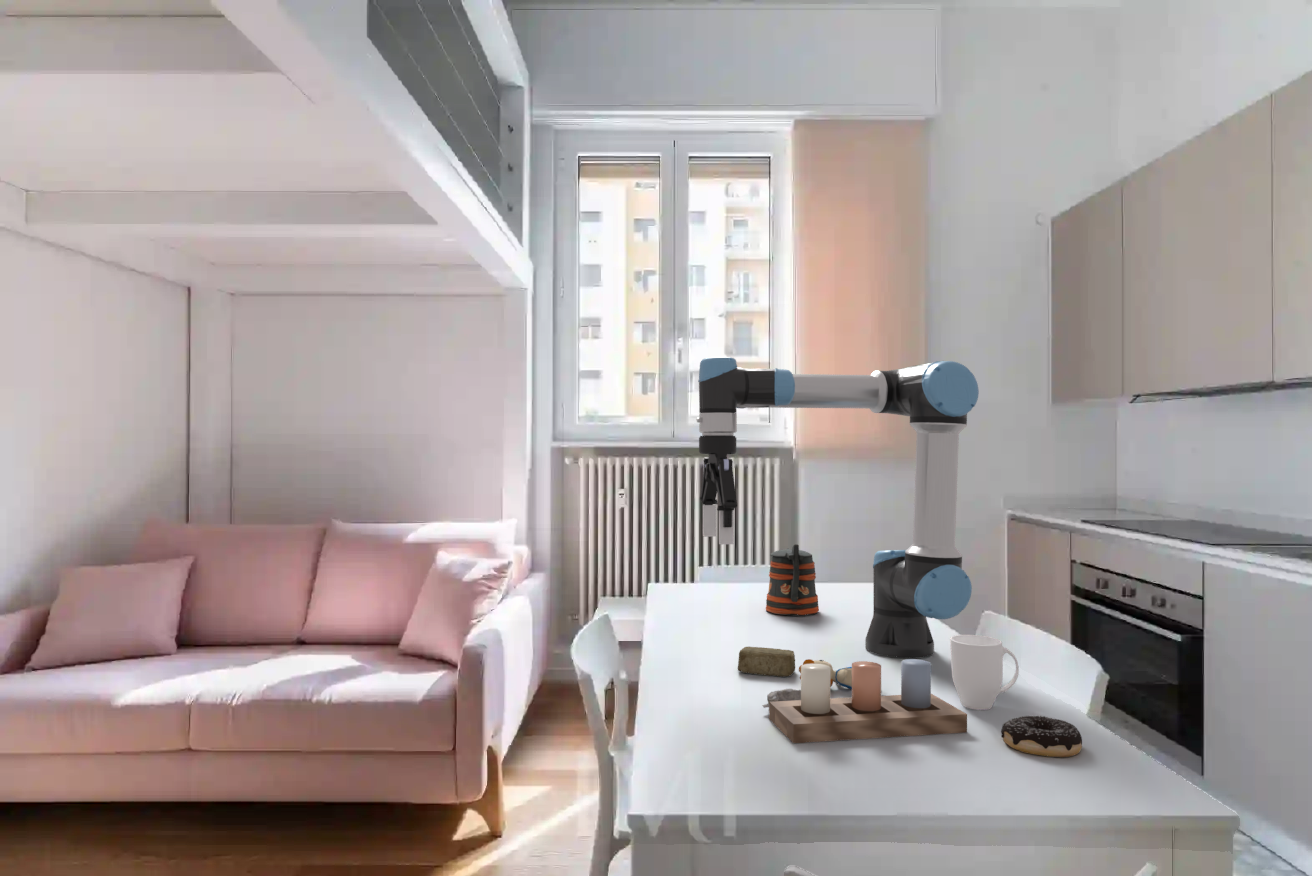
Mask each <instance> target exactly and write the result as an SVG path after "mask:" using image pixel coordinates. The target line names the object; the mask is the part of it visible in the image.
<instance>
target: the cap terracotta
mask: <svg viewBox="0 0 1312 876" xmlns="http://www.w3.org/2000/svg"><path fill="white" fill-rule="evenodd" d="M851 667H852V690H851V697H852V707H853V708H855V709H858V710H862V711H877V710H880V709H881V696H882V664H880V663H877V662H875V661H874V662H873V661H864V660H863V661H858V660H857V661H853V662H851Z"/></svg>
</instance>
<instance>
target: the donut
mask: <svg viewBox="0 0 1312 876" xmlns="http://www.w3.org/2000/svg"><path fill="white" fill-rule="evenodd" d="M1000 732H1001V738H1002V739H1003V742H1004V743H1005V744H1007V745H1008V746H1009V747H1010V748H1012V749H1014V750H1016V751H1019V752H1021V753H1026V754H1031V755H1037V756H1042V757H1043V756H1044V757H1053V758H1068V757H1069V758H1070V757H1072V756H1076V755H1077V754H1079V753H1080V752H1081V750H1082V748H1083V737H1082V735H1081V732H1080V730H1079V729H1078V728H1077V726H1075V725H1074V724H1072V723H1070V722H1068V721H1066V720H1062V719H1057V718H1052V717H1048V716H1042V715H1024V716H1018V717H1014V718H1010V719H1009V720H1007V721H1005V722H1003V724H1002V728H1001V731H1000Z"/></svg>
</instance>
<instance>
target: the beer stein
mask: <svg viewBox="0 0 1312 876" xmlns="http://www.w3.org/2000/svg"><path fill="white" fill-rule="evenodd" d="M791 547H792V548H791V549H790V548H786V549H781V550H780V549H779V550H775V551H773V552H770V554H769V556H770V557H772V558H771V560H770V564H769V565H770V566H769V574H768V577H769V582H768V591H767V594H766V599H765V602H766V603H765V611H766V612H767V613H768V612H769V613H772V614H775V615H781V616H796V617H797V616H804V617H805V616H810V615H815V614H817V613H819V611H820V608H819V597H818V596H819V595H818V594H817V591H816V582H815V581H816V578H817V576H816V574H817V573H816V568H815V562H814V560H813V554H811V553H810V552H809V551H805V550H801V549H800V547H799V544H798V543H797V544H796V543H794V544H793V545H792V546H791Z"/></svg>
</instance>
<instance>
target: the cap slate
mask: <svg viewBox="0 0 1312 876" xmlns="http://www.w3.org/2000/svg"><path fill="white" fill-rule="evenodd" d="M900 663H901V667H900V670H901V673H900V674H901V677H900V678H901V679H900V681H901V683H900V685H901V686H900V687H901V690H900V695H901V704H903V705H904V706H907V707H912V708H927V707H930V706H931V694H932V693H931V692H932V690H931V689H932V663H931V662H930V661H927V660H924V659H918V658H917V659H916V658H905V659H903V660H901V661H900Z"/></svg>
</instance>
